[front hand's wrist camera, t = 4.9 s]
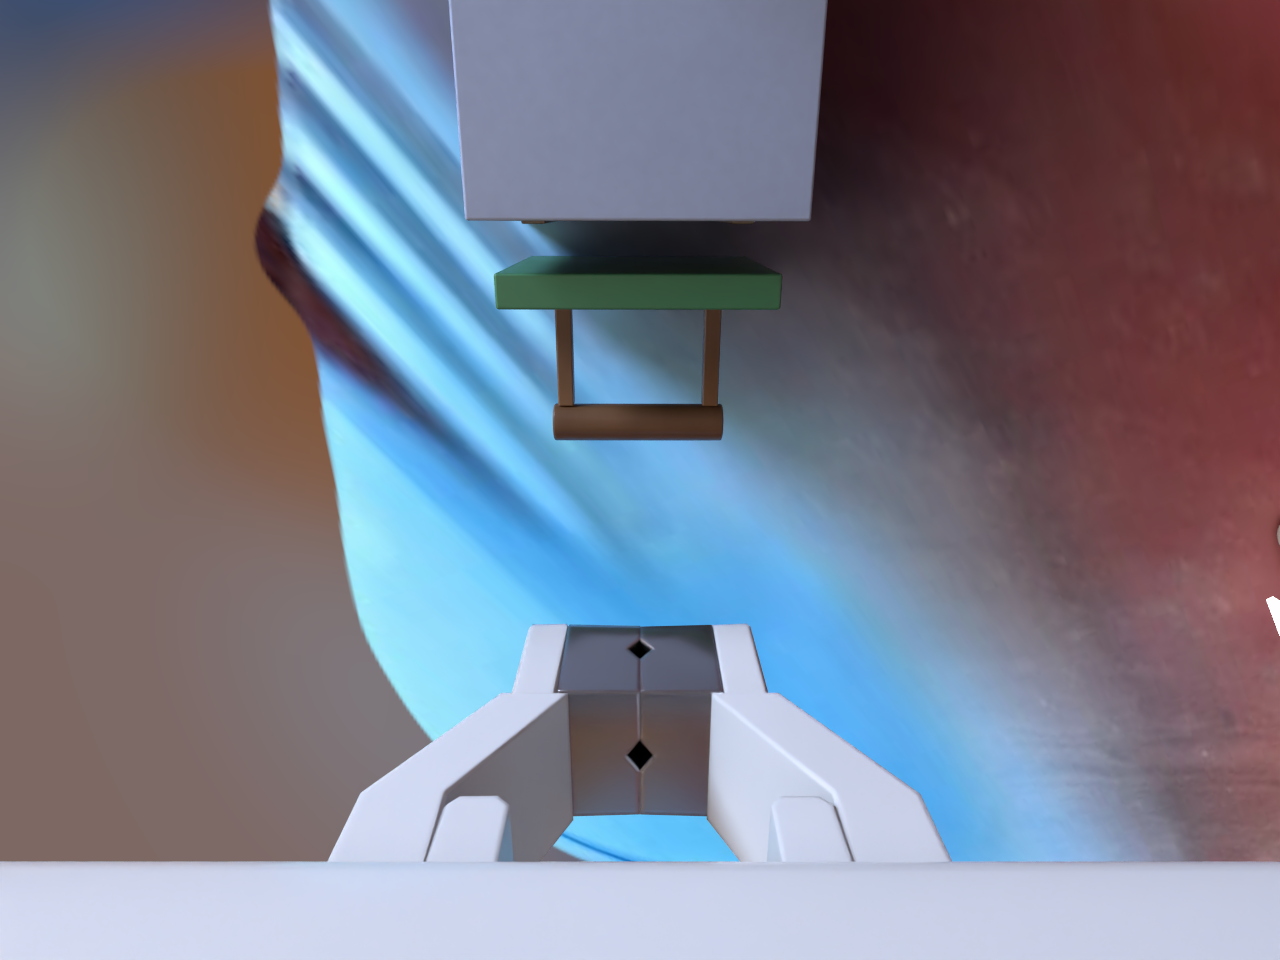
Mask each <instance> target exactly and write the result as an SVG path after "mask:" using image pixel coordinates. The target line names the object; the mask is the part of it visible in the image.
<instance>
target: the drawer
mask: <svg viewBox="0 0 1280 960" xmlns="http://www.w3.org/2000/svg"><path fill="white" fill-rule="evenodd" d="M521 222H522V223H523V224H545V223H550V222H555V221H521ZM722 222H726V223H731V224H753V223H754V221H722ZM494 285H495V300H496V308H497V309H555V324H556V351H557V377H558V404H555V405H554V409H553V433H554V438H555V440H721V439H722V435H723V408H722V405H721V404H718V384H719V358H720V333H721V310H778V309H780V303H781V288H782V274H780V273H777V272H775V271H773V270H771V269H769V268H767V267H765V266H763V265H761V264H759V263H757V262H755V261H753V260H751V259H749V258H747V257H745V256H531V257H529V258H527V259H525V260H523V261H521V262H519V263H517V264H514V265H512V266H510V267H508V268H506V269H504V270H502V271H500V272H498V273H496V274H494ZM572 309H598V310H704V330H703V363H702V395H701V402H702V404H574V403H575V387H574V353H573V319H572Z"/></svg>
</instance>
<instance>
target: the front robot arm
mask: <svg viewBox="0 0 1280 960" xmlns="http://www.w3.org/2000/svg"><path fill="white" fill-rule="evenodd" d="M1277 539H1278V543H1279V546H1280V525H1279V528H1278V531H1277ZM1267 602H1268V605H1269V608H1270V610H1271V613H1272V616H1273V618H1274V621H1275V624H1276V626H1277V629H1278V632H1279V634H1280V601H1279V600H1277V599H1276V598H1274V597H1271V598H1269V599H1267ZM630 814H648V815H684V816H707V820H708V821H709V822H710V824H711V825H712V826H713V828H714V829H715V830H716V831H717V833H718V834H719V835H720V836H721V838H722V839H723V840H724V842H725V843H726V844H727V845H728V847H729V848H730V849H731V851H732V852H733V853H734V854H735V856H736V857H737V858H738V859H739V861H740V862H540V861H541V860H542V859H543V857H544V856H545V855H546V854H547V852H548V851H549V850H550V849H551V847H552V846H553V845H554V844H555V842H556V841H557V840H558V838H559V837H560V836H561V835H562V833H563V832H564V831H565V830H566V828H567V827H568V826H569V824H570V823H571V822H572V821H573V816H595V815H630ZM0 960H1280V862H952V860H951V858H950V856H949V854H948V851H947V849H946V847H945V845H944V843H943V841H942V839H941V837H940V835H939V833H938V830H937V828H936V826H935V824H934V822H933V820H932V818H931V816H930V814H929V812H928V809H927V807H926V805H925V803H924V801H923V799H922V797H921V795H920V794H919V793H918V792H917V791H915V790H914V789H912V788H911V787H910V786H908V785H907V784H905V783H904V782H903V781H901V780H900V779H898V778H897V777H896V776H894V775H893V774H891V773H890V772H889V771H887V770H886V769H884V768H883V767H882V766H880V765H879V764H877V763H876V762H875V761H873V760H872V759H870V758H869V757H868V756H866V755H865V754H863V753H862V752H861V751H859V750H858V749H856V748H855V747H854V746H852V745H851V744H849V743H848V742H847V741H845V740H844V739H842V738H841V737H840V736H838V735H837V734H835V733H834V732H833V731H831V730H830V729H828V728H827V727H826V726H824V725H823V724H821V723H820V722H819V721H817V720H816V719H814V718H813V717H812V716H810V715H809V714H807V713H806V712H804V711H803V710H802V709H800V708H799V707H797V706H796V705H795V704H793V703H792V702H790V701H789V700H788V699H786V698H785V697H783V696H782V695H781V694H779V693H768V690H767V687H766V683H765V679H764V676H763V672H762V668H761V664H760V661H759V657H758V653H757V650H756V646H755V642H754V638H753V635H752V631H751V627H750V626H749V625H748V624H728V625H689V626H649V627H640V626H617V625H569V626H568V625H567V624H537V625H532V626H531V627H530V628H529V630H528V634H527V638H526V641H525V645H524V649H523V653H522V656H521V660H520V664H519V668H518V672H517V675H516V679H515V683H514V687H513V690H512V693H501V694H499V695H498V696H497V697H495V698H494V699H492V700H491V701H490V702H488V703H487V704H485V705H484V706H482V707H481V708H480V709H478V710H477V711H475V712H474V713H473V714H471V715H470V716H468V717H467V718H466V719H464V720H463V721H461V722H460V723H459V724H457V725H456V726H454V727H453V728H451V729H450V730H449V731H447V732H446V733H444V734H443V735H442V736H440V737H439V738H437V739H436V740H435V741H433V742H432V743H430V744H429V745H428V746H426V747H425V748H423V749H422V750H420V751H419V752H418V753H416V754H415V755H413V756H412V757H411V758H409V759H408V760H406V761H405V762H404V763H402V764H401V765H399V766H398V767H397V768H395V769H394V770H392V771H391V772H390V773H388V774H387V775H385V776H384V777H382V778H381V779H380V780H378V781H377V782H375V783H374V784H373V785H371V786H370V787H368V788H367V789H366V790H364V791H363V792H361V794H360V796H359V798H358V800H357V802H356V804H355V806H354V808H353V810H352V812H351V814H350V816H349V819H348V820H347V823H346V825H345V827H344V829H343V831H342V833H341V835H340V837H339V839H338V841H337V843H336V845H335V847H334V849H333V852H332V854H331V856H330V858H329V860H328V862H0Z"/></svg>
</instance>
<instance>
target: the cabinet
mask: <svg viewBox="0 0 1280 960" xmlns="http://www.w3.org/2000/svg"><path fill="white" fill-rule="evenodd" d="M827 4H828V0H449V10H450V23H451V36H452V50H453V63H454V76H455V90H456V103H457V116H458V130H459V143H460V156H461V170H462V183H463V196H464V210H465V218H466V220H468V221H809V220H810V219H811V213H812V200H813V187H814V174H815V160H816V147H817V134H818V121H819V108H820V95H821V82H822V69H823V56H824V43H825V30H826V17H827Z"/></svg>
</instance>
